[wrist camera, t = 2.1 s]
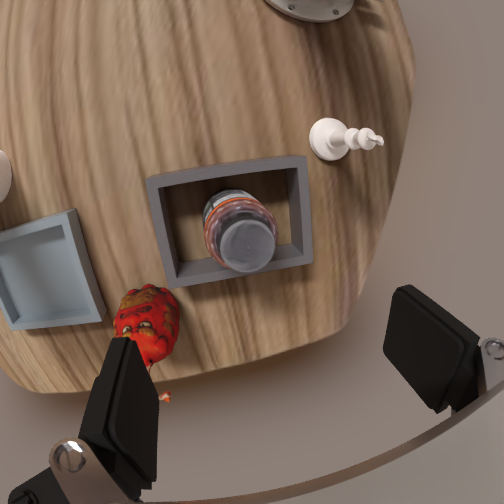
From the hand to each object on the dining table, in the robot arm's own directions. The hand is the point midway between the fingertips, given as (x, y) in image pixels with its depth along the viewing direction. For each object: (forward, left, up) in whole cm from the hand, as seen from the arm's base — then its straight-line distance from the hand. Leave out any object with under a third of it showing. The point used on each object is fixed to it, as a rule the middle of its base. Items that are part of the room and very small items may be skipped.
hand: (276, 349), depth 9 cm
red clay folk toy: (+10, +10, -23) cm, 27 cm away
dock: (-1, +1, -23) cm, 23 cm away
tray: (+24, +3, -23) cm, 33 cm away
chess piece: (-13, -7, -23) cm, 27 cm away
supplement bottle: (-1, +1, -23) cm, 23 cm away
